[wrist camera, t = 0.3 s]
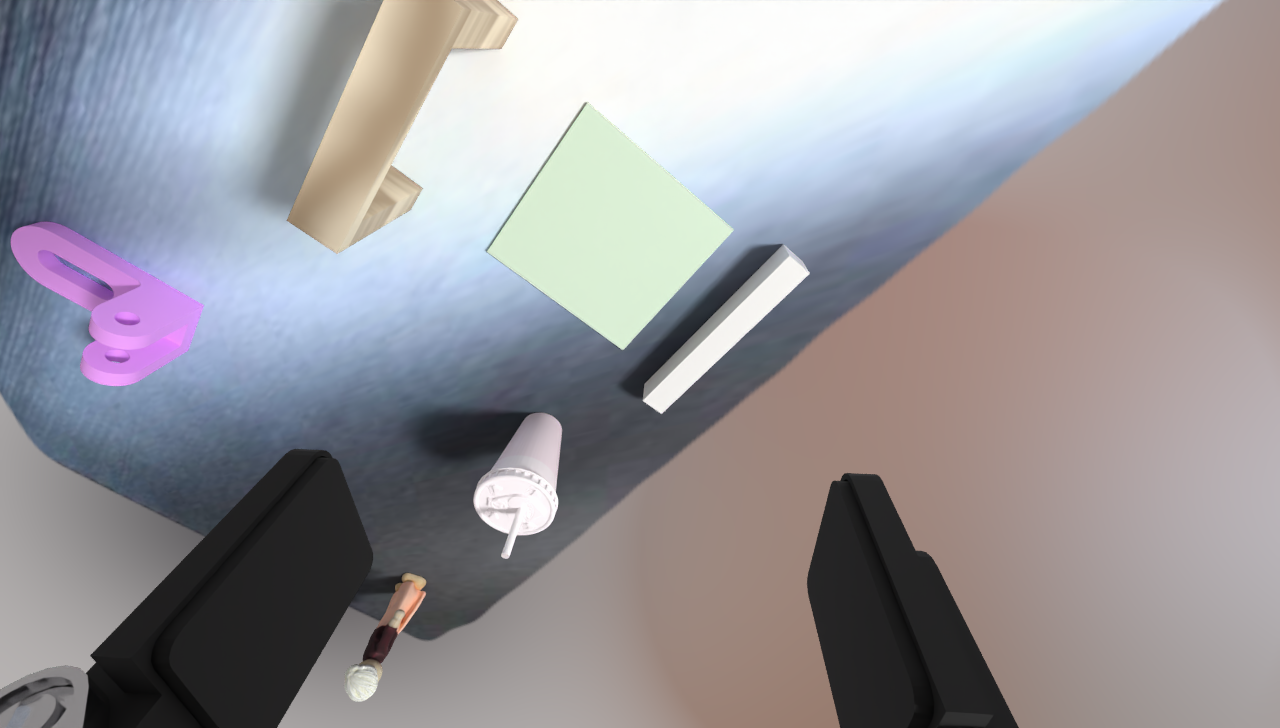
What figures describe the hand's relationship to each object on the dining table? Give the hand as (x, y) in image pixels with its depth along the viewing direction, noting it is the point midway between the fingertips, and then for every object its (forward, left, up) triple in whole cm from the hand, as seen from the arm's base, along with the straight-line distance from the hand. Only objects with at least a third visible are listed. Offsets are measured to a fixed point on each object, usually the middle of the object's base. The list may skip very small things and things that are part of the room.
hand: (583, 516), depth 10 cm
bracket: (+34, -29, -31) cm, 55 cm away
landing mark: (+5, 0, -31) cm, 31 cm away
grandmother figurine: (+52, +7, -31) cm, 61 cm away
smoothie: (+23, +6, -31) cm, 39 cm away
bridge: (+5, -14, -31) cm, 34 cm away
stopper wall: (+5, +11, -31) cm, 33 cm away
